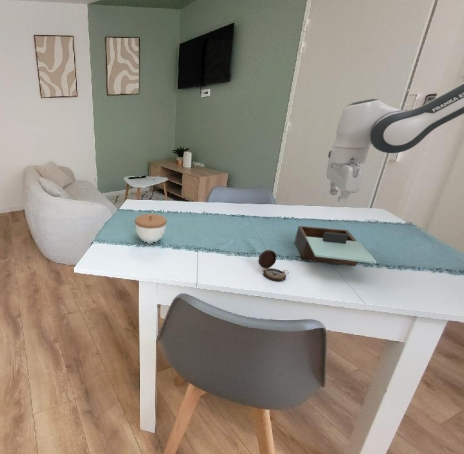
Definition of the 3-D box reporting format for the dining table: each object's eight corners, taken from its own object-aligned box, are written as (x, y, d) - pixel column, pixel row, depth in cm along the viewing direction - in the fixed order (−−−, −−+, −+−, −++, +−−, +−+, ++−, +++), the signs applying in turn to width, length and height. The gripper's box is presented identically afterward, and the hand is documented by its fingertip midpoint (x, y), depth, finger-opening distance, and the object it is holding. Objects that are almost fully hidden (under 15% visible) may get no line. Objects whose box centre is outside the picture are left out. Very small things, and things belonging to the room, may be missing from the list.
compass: (273, 283, 88) (278, 262, 85) (255, 270, 95) (258, 250, 92) (295, 278, 90) (300, 258, 87) (276, 266, 97) (280, 246, 94)
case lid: (358, 243, 94) (361, 233, 92) (376, 263, 82) (380, 252, 81) (305, 238, 99) (307, 228, 98) (314, 256, 88) (317, 245, 86)
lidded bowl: (132, 234, 126) (132, 211, 121) (160, 232, 127) (161, 208, 122) (138, 247, 114) (138, 222, 110) (169, 244, 115) (171, 219, 111)
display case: (342, 247, 106) (347, 230, 104) (355, 266, 94) (362, 247, 92) (294, 242, 112) (298, 225, 109) (301, 259, 100) (306, 241, 97)
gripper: (374, 162, 81) (360, 209, 86) (349, 151, 98) (339, 190, 103) (346, 162, 83) (334, 207, 89) (327, 151, 100) (318, 189, 106)
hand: (337, 198), depth 96 cm, fingers open, 8 cm apart
